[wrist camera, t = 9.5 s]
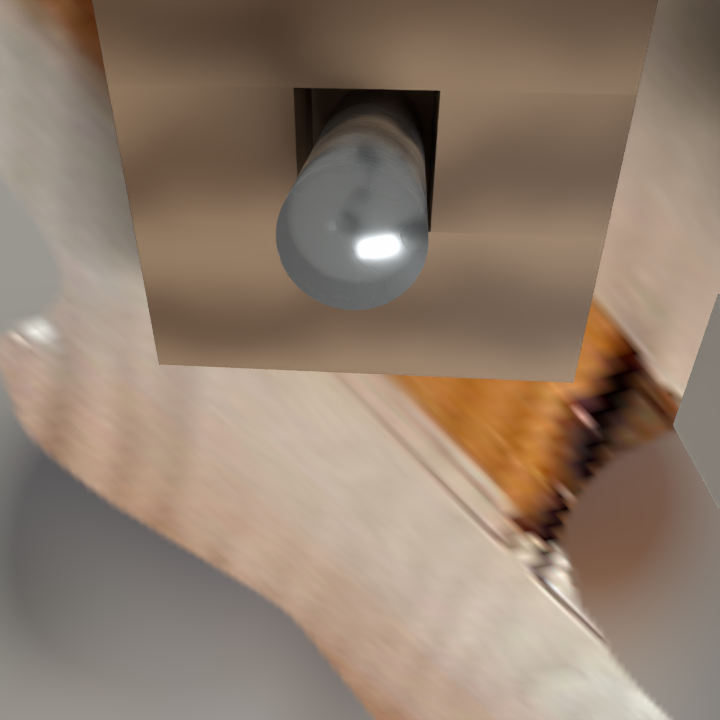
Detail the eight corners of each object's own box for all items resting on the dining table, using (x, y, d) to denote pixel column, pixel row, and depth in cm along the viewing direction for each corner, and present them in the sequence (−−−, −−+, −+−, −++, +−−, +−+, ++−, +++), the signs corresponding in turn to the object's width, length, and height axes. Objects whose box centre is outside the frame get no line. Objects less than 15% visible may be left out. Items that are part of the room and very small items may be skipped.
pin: (327, 83, 26) (271, 162, 16) (426, 85, 26) (434, 167, 16) (328, 181, 28) (280, 307, 18) (420, 184, 28) (423, 313, 18)
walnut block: (137, -130, 24) (63, -155, 19) (629, -129, 23) (692, -155, 18) (197, 303, 33) (159, 364, 28) (548, 316, 32) (573, 382, 27)
